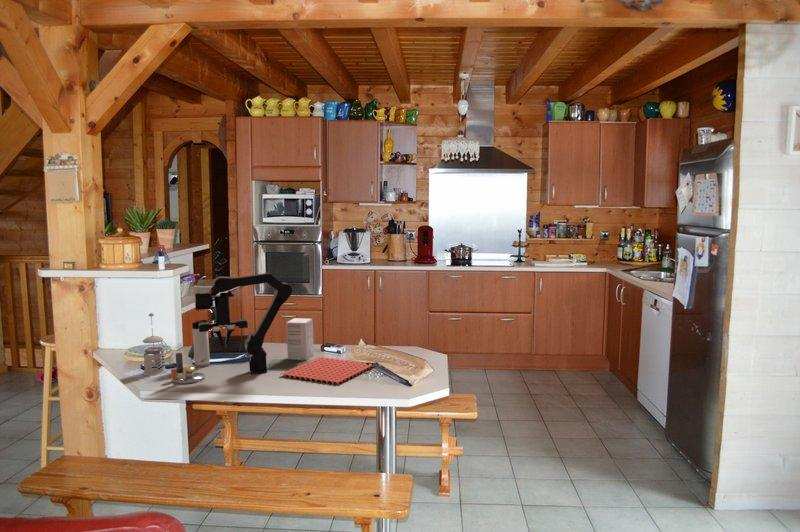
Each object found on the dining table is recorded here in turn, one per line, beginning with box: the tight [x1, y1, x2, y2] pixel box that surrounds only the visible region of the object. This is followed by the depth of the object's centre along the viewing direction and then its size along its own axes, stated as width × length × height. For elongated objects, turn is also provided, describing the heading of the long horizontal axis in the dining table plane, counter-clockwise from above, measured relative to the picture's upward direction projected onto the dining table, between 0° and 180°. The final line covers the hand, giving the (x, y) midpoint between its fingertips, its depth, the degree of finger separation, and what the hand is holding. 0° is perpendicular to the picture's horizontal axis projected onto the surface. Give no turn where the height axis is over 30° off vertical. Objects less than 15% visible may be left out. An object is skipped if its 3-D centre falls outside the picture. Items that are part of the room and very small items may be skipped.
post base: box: [170, 367, 206, 385], centre depth 241 cm, size 12×12×5 cm
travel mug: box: [191, 319, 211, 368], centre depth 260 cm, size 6×7×20 cm
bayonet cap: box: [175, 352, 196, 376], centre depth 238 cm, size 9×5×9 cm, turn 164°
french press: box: [142, 312, 168, 377], centre depth 252 cm, size 10×12×25 cm
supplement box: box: [285, 317, 315, 361], centre depth 271 cm, size 10×9×17 cm
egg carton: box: [280, 356, 372, 386], centre depth 247 cm, size 28×28×2 cm
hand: (224, 346), depth 244 cm, fingers closed
